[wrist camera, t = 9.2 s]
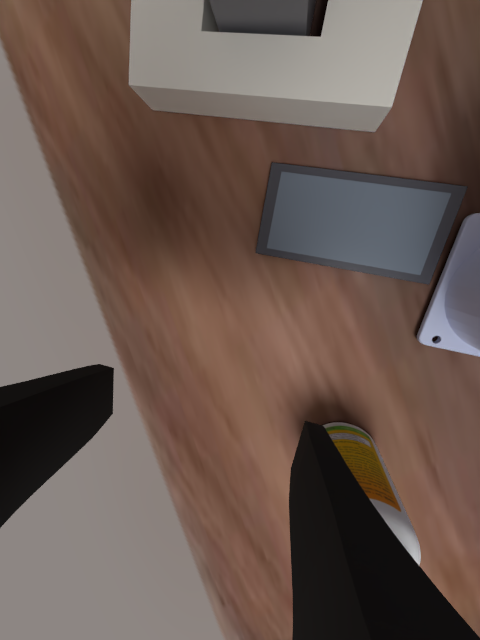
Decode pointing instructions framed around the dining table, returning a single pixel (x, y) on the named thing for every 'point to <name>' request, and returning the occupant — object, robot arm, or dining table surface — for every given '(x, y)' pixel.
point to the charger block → (264, 16)
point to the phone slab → (358, 221)
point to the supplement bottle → (374, 480)
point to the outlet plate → (272, 64)
